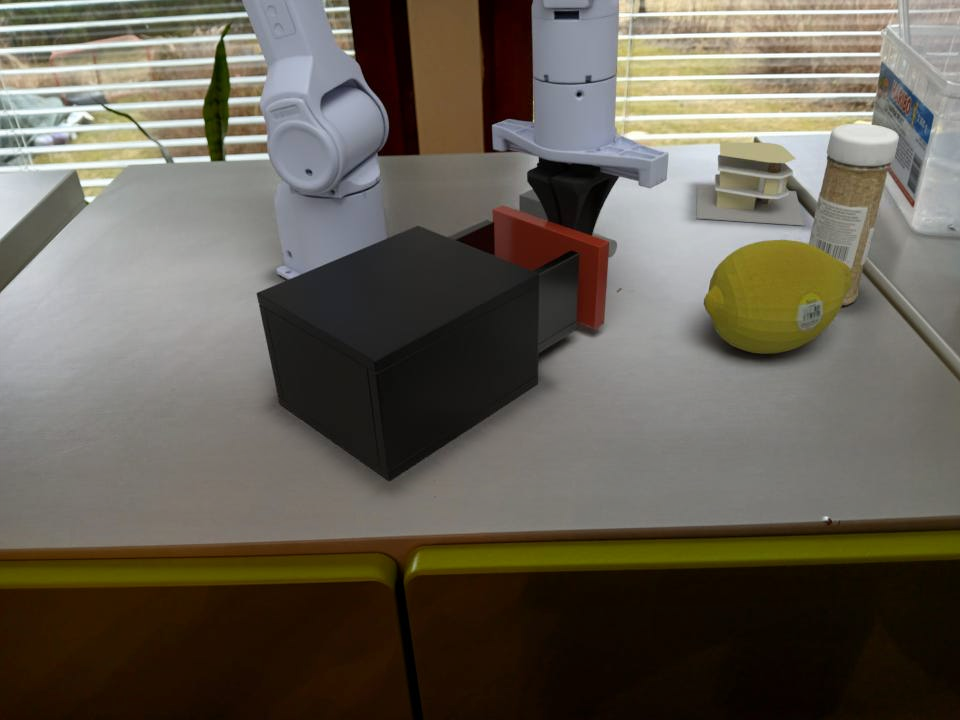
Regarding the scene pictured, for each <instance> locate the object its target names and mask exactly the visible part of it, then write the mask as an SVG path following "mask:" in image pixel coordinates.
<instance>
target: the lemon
mask: <svg viewBox="0 0 960 720" xmlns="http://www.w3.org/2000/svg"><path fill="white" fill-rule="evenodd" d="M851 281H852V278H851V271H850V268H849V267H848V266H847V265H846V264H845V263H843V262H841V261H839V260H837V259H835V258H834V257H832V256H831V255H829V254H828V253H826V252H824V251H823V250H821V249H819V248H817V247H815V246H813V245H810V244H809V243H806V242H802V241H797V240H792V239H791V240H790V239H789V240H788V239H771V240H770V239H769V240H762V241H756V242H754V243H749V244H747V245H744V246H741V247H739V248H738V249H736V250H734V251H732V252H731V253H730V254H728V255H727V256H726V257H725V258H724V259H723V260H722V261H721V262H720V263H719V264H718V265H717V267H716V268H715V269H714V271H713V274H712V277H711V278H710V280H709V286H708V292H707V293H706V294H705V296H704V298H703V306H704V309H705V311H706V313H707V314H708V315H709V317H710V319H711V320H710V321H711V322H712V325H713V327H714V330H715V331H716V333H717V334H718V336H719V337H720V338H721V339H722V340H723V341H725V342H726V343H728V344H729V345H730V346H732V347H735V348H737V349H739V350H742V351H745V352H748V353H752V354H761V355H762V354H763V355H766V354H767V355H768V354H769V355H770V354H778V353H785V352H788V351H793V350H795V349H798V348H799V347H800V348H801V347H802V346H805V345H806V344H808V343H810V342H811V341H812V340H814V339H815V338H817V337H818V336H819V335H820V334H822V333H823V332H824V331H825V330H826V329H827V328H828V327H829V326H830V325H831V323H832V322H833V321H834V320H835V318H836V317H837V315H838V314H839V312H840V311H841V309H842V307H843V305H842V302H843V299H844V297H845V295H846V294H847V292H848V291H849V289H850V287H851Z"/></svg>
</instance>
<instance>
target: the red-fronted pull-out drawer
mask: <svg viewBox="0 0 960 720" xmlns="http://www.w3.org/2000/svg"><path fill="white" fill-rule="evenodd" d="M447 237H448V238H451V239H453V240H456V241H458V242H461V243H463V244H466V245H468V246H471V247H473V248H476V249H479V250H481V251H484V252H486V253H489V254H491V255H494V256H496V257H499V258H501V259H504V260H506V261H509V262H511V263H514V264H516V265H519V266H521V267H524V268H527V269H529V270H532V271H534V272H537V273H539V274H540V280H539V343H538V354H540V353H542V352H544V351H545V350H546V349H548V348H549V347H551V346H553V345H555V344H556V343H558V342H559V341H561V340H563V339H564V338H565V337H567V336H569V335H571V334H572V333H574V332H575V331H577V327H578V326H577V325H578V324H580V325H583V326H585V327H587V328H590V329H593V330H596V329H598V328H600V327H602V326H603V325H604V324H605V318H606V317H605V316H606V315H605V314H606V302H607V301H606V300H607V287H608V273H609V272H608V271H609V259H610V258H612V257H613V256H614V255H616V252H617V249H618V242H617V240H615V239H612V238H610V237H606V236H603V235H601V234H597V233H594V232H593V235H592V236H591V235H588V234H585V233H582V232H579V231H577V230H574V229H571V228H568V227H565V226H562V225H559V224H556V223H553V222H550V221H547V220H544V219H541V218H538V217H535V216H533V215H530V214H527V213H524V212H521V211H519V209H514V208H512V207H509V206H506V205H500V206H498V207H495V208H493V209H492V220H489V219H485V220H483V221H481V222H479V223H476V224H474V225H472V226H469V227H467V228H465V229H462V230H461V231H458V232H456V233H453V234H451V235H449V236H447Z"/></svg>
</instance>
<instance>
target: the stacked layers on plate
mask: <svg viewBox="0 0 960 720" xmlns="http://www.w3.org/2000/svg"><path fill="white" fill-rule="evenodd" d="M794 160H796V156H794V155H793V154H792V152H790V151H788V149H787V148H785V146H782V145H780V144H778V143H773V142H719V154H718V155H717V171H719V173H716V174H715V175H714V186H711V185H697V193H696V194H697V195H696V196H697V197H696V198H697V199H696V219H699V220H700V219H701V220H716V221H717V220H718V221H731V222H746V223H760V224H773V225H774V224H776V225H791V226H805V223H804V219H803V215H802V211H801V210H802V209H801V207H800V202H799V198H798V195H797V191H796V190H789V189H788V188H787V182H788V177H790V176H793V174H794V170H793V169H792V168H791V167H790V166H789V165H788V164H786V163H789V162H791V161H794Z"/></svg>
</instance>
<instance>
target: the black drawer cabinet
mask: <svg viewBox="0 0 960 720" xmlns="http://www.w3.org/2000/svg"><path fill="white" fill-rule="evenodd" d="M448 237H449V236H445V235H443V234H440V233H438V232H436V231H433V230H431V229H428V228H425V227H423V226H420V225H415V226H413V227H411V228H409V229H406V230H404V231H402V232H399V233H396V234H394V235H392V236H389V237H387V239H385V240H382V241H380V242H377V243H375V244H373V245H370V246H368V247H365V248H363V249H361V250H358V251H356V252H353V253H351V254H349V255H346V256H344V257H341V258H339V259H337V260H334V261H332V262H329V263H327V264H325V265H322V266H320V267H318V268H315V269H313V270H310V271H308V272H306V273H303V274H301V275H298V276H296V277H294V278H291V279H289V280H288V279H286V280H284V281H281V282H279V283H277V284H274V285H272V286H270V287H267V288H265V289H262V290H260V291H258V292H256V298H257V303H258V307H259V313H260V317H261V322H262V327H263V331H264V336H265V340H266V341H265V342H266V346H267V352H268V356H269V361H270V364H271V370H272V375H273V380H274V385H275V391H276V394H277V400H278V404H279V405H280V406H282V407H283V408H285V409H286V410H288V411H289V412H290V413H292V414H293V415H295V416H296V417H298V418H299V419H300V420H301V421H303V422H304V423H306V424H307V425H309V427H312V428H313V429H314V430H316V431H318V432H319V433H320V434H321V435H323V436H325V437H326V438H327V439H329V440H330V441H332V442H333V443H335V444H336V445H337V446H339V447H340V448H341V449H343V450H344V451H346V452H347V453H348V454H350V455H351V456H353V457H354V458H356V459H357V460H358V461H360V462H362V463H363V464H364V465H366V466H367V467H369V468H370V469H371V470H372V471H374V472H376V473H377V474H379V475H380V476H381V477H383V478H384V479H385V480H387V481H389V482H390V481H392V480H393V479H395V478H396V477H398V476H399V475H401V474H403V473H404V472H405V471H407V470H408V469H410V468H412V467H413V466H414V465H416V464H418V463H419V462H420V461H423V460H424V459H425V458H427V457H428V456H430V455H432V454H433V453H434V452H436V451H437V450H439V449H441V448H442V447H443V446H446V445H447V444H448V443H450V442H451V441H453V440H454V439H456V438H457V437H459V436H461V435H462V434H464V433H465V432H467V431H468V430H470V429H471V428H472V427H474V426H476V425H478V423H480V422H481V421H483V420H486V419H487V418H488V417H490V416H491V415H492V414H494V413H496V412H497V411H498V410H500V409H502V408H504V407H505V406H506V405H508V404H509V403H511V402H512V401H513V400H515V399H517V398H518V397H520V396H521V395H523V394H525V393H526V392H527V391H529V390H531V389H532V388H534V387H536V386H537V385H538V383H539V353H538V343H539V280H540V274H539V273H537V272H534V271H532V270H529V269H527V268H524V267H521V266H519V265H516V264H514V263H511V262H509V261H506V260H504V259H501V258H499V257H496V256H494V255H491V254H489V253H486V252H484V251H481V250H479V249H476V248H473V247H471V246H468V245H466V244H463V243H461V242H458V241H456V240H453V239H451V238H448Z"/></svg>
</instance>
